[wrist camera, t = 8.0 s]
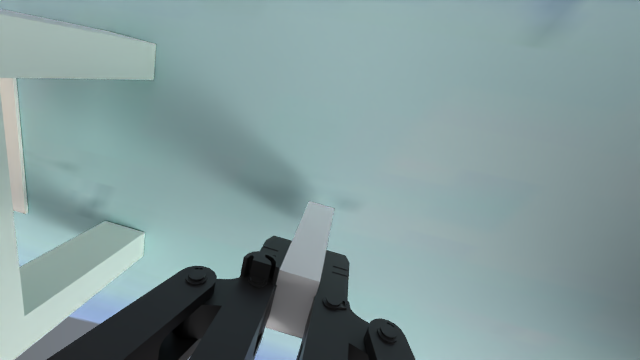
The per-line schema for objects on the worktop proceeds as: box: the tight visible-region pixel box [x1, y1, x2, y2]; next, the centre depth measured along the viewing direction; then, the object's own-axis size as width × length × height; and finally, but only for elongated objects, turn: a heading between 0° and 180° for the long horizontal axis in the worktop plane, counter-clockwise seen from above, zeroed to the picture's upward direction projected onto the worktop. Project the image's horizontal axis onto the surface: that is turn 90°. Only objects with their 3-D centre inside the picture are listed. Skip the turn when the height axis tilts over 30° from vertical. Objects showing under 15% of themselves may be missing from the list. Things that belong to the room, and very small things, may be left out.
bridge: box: [0, 9, 156, 360], centre depth 15 cm, size 3×14×9 cm, turn 166°
